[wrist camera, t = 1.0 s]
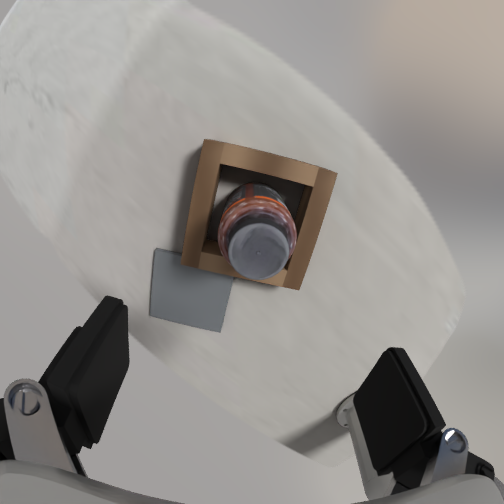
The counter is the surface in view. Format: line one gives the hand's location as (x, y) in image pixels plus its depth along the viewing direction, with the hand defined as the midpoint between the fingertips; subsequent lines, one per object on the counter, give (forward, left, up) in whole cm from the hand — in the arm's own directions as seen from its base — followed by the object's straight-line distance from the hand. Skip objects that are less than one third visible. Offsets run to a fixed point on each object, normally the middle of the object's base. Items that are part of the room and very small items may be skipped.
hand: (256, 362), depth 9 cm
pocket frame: (0, 0, -21) cm, 21 cm away
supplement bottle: (0, 0, -21) cm, 21 cm away
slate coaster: (+5, +11, -21) cm, 24 cm away
